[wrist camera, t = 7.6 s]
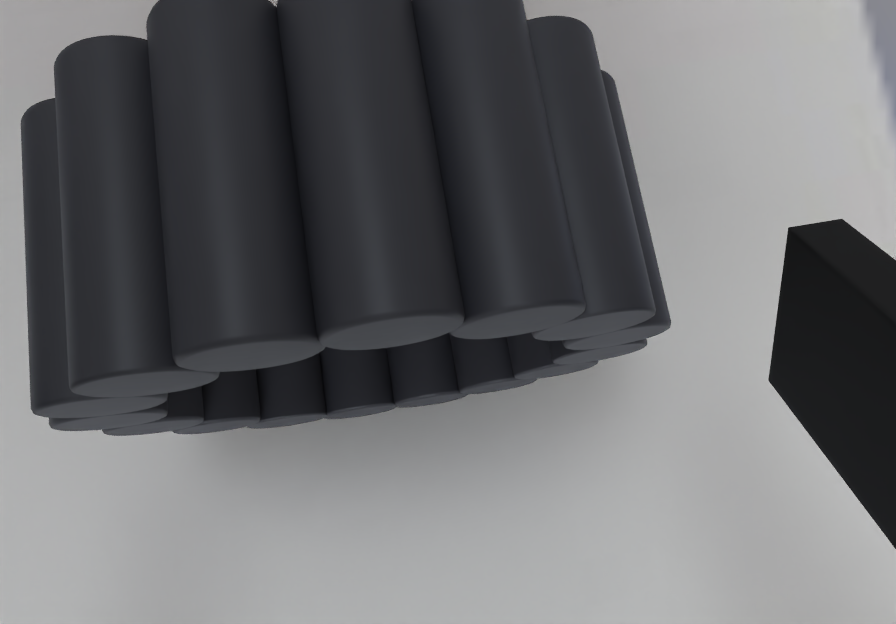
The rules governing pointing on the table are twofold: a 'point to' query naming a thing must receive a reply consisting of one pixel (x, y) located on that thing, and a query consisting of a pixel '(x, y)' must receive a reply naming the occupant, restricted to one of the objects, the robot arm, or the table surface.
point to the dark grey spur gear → (326, 214)
